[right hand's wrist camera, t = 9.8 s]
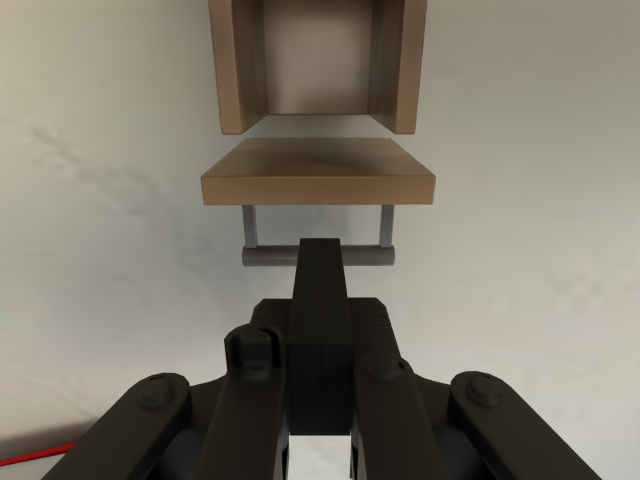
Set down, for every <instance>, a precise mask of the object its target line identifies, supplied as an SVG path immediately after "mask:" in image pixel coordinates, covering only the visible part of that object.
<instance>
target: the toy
mask: <svg viewBox="0 0 640 480" xmlns="http://www.w3.org/2000/svg"><path fill="white" fill-rule="evenodd" d="M76 443H77V442H75V443H71V444H67V445H63V446H59V447H55V448H50V449H46V450H42V451H38V452H34V453H30V454H26V455H22V456H18V457H14V458H10V459H6V460H2V461H0V480H41V479H42V478H43V477H44V475H45V474H46V473H47V472H48V471H49V470H50V469H51V468H52V467H53V466H54V465H55V464H56V463H57V462H58V461H59V460H60V459H61V458H62V457H63V456H64V455H65V454H66V453H67V452H68V451H69V450H70V449H71V448H72V447H73V446H74V445H75V444H76Z"/></svg>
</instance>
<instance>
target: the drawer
mask: <svg viewBox="0 0 640 480" xmlns="http://www.w3.org/2000/svg"><path fill="white" fill-rule="evenodd" d="M208 2H209V12H210V22H211V32H212V42H213V52H214V63H215V73H216V83H217V93H218V103H219V113H220V123H221V133H222V134H223V135H241V134H243V133H244V132H245V131H247V130H248V129H249V128H251V127H252V126H253V125H255V124H256V123H257V122H259V121H260V120H261V119H263V118H264V117H266V116H267V115H369V116H371V117H372V118H373V119H375V120H376V121H378V122H379V123H380V124H382V125H383V126H385V127H386V128H387V129H389V130H390V131H391V132H393V133H394V134H414V133H415V127H416V116H417V105H418V95H419V84H420V73H421V62H422V52H423V41H424V30H425V19H426V9H427V0H208ZM435 182H436V176H435V175H434V174H433V173H432V172H430V171H429V170H428V169H427V168H426V167H424V166H423V165H422V164H421V163H420V162H418V161H417V160H416V159H415V158H414V157H412V156H411V155H410V154H409V153H408V152H406V151H405V150H404V149H403V148H401V147H400V146H399V145H398V144H397V143H395V142H394V141H393V140H392V139H390V138H376V139H245V140H243V141H242V142H241V143H240V144H239V145H238V146H236V147H235V148H234V149H233V150H232V151H230V152H229V153H228V154H227V155H226V156H225V157H223V158H222V159H221V160H220V161H219V162H217V163H216V164H215V165H214V166H213V167H212V168H210V169H209V170H208V171H207V172H206V173H204V174H203V175H202V176H201V186H202V193H203V201H204V205H242V208H243V220H244V232H245V243H246V245H245V246H244V247H243V250H242V262H243V265H244V266H297V260H298V253H299V245H257V244H258V240H257V226H256V212H255V205H382V206H381V222H380V237H379V244H380V245H341V253H342V260H343V266H393V265H394V261H395V250H394V246H393V245H391V242H392V229H393V216H394V205H395V204H433V199H434V190H435Z"/></svg>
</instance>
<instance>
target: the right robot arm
mask: <svg viewBox="0 0 640 480" xmlns="http://www.w3.org/2000/svg"><path fill="white" fill-rule="evenodd" d="M224 344H225V353H226V363H227V373H226V375H224V376H222V377H220V378H218V379H216V380H213V381H210V382H207V383H202V384H198V385H194V386H189V382H188V381H187V379H186V378H185V377H184V376H182V375H179V374H176V373H160V374H156V375H151V376H149V377H147V378H145V379H142V380H140V381H139V382H137V383H136V384H135V385H133V386H132V387H131V388H130V389H129V390H128V391H127V392H126V393H125V394H124V395H123V396H122V397H121V398H120V399H119V400H118V401H117V402H116V403H115V404H114V405H113V406H112V407H111V408H110V409H109V410H108V411H107V412H106V413H105V414H104V415H103V416H102V417H101V418H100V419H99V420H98V421H97V422H96V423H95V424H94V425H93V426H92V427H91V428H90V429H89V430H88V432H87V433H86V434H85V435H84V436H83V437H82V438H81V439H80V440H79V441H78V442H77V443H76V444H75V445H74V446H73V447H72V448H71V449H70V450H69V451H68V452H67V453H66V454H65V455H64V456H63V457H62V458H61V459H60V460H59V461H58V462H57V463H56V464H55V465H54V466H53V467H52V468H51V469H50V470H49V471H48V472H47V473H46V474H45V475H44V477H43V478H42V479H41V480H287V478H288V466H289V431H290V436H350V429H351V460H350V479H353V480H602V479H601V478H600V477H599V476H598V475H597V474H596V473H595V472H594V471H593V470H592V469H591V468H590V467H589V466H588V465H587V464H586V463H585V462H584V461H583V460H582V459H581V458H580V457H579V456H578V455H577V454H576V453H575V452H574V451H573V450H572V448H571V447H570V446H569V445H568V444H567V443H566V442H565V441H564V440H563V439H562V438H561V437H560V436H559V435H558V434H557V433H556V432H555V431H554V430H553V429H552V428H551V427H550V426H549V425H548V424H547V423H546V422H545V421H544V420H543V419H542V418H541V417H540V416H539V415H538V414H537V413H536V412H535V411H534V410H533V409H532V408H531V407H530V406H529V405H528V404H527V403H526V402H525V401H524V400H523V399H522V398H521V397H520V396H519V395H518V394H517V393H516V392H515V391H514V390H513V389H512V388H511V387H510V386H509V385H508V384H506V383H505V382H504V381H503V380H501V379H499V378H497V377H495V376H493V375H490V374H487V373H483V372H478V371H465V372H462V373H460V374H457V375H456V376H455V377H454V378H453V379H452V381H451V385H449V384H444V383H440V382H436V381H432V380H429V379H425V378H423V377H421V376H419V375H417V374H415V373H414V372H413V369H412V368H411V366H410V365H409V363H408V362H407V361H406V360H404V359H403V358H402V357H401V355H400V352H399V349H398V345H397V342H396V339H395V336H394V332H393V329H392V327H391V323H390V319H389V316H388V313H387V310H386V306H385V305H384V304H383V303H381V302H380V301H379V300H378V299H377V298H348V297H347V290H346V282H345V275H344V268H343V260H342V253H341V245H340V238H300V245H299V253H298V260H297V268H296V275H295V282H294V290H293V297H292V299H263V300H262V301H261V302H260V303H259V304H258V305H257V306H256V307H255V308H254V311H253V314H252V319H251V321H250V323H249V324H245V325H242V326H239V327H237V328H235V329H234V330H232V331H231V332H229V333H228V335H227V336H226V337H225V339H224Z"/></svg>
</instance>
